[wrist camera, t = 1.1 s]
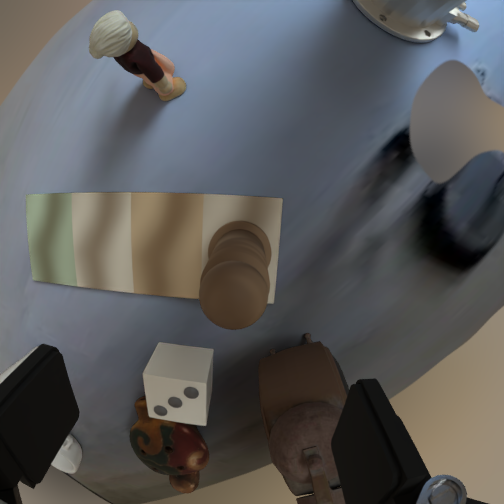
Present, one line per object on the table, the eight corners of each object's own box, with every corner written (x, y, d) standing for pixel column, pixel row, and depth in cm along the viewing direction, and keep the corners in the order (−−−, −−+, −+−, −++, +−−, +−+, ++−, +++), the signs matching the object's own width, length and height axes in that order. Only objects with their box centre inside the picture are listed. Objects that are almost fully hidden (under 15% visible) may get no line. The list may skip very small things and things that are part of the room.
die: (213, 348, 31) (206, 384, 25) (212, 390, 32) (205, 427, 26) (159, 341, 31) (142, 374, 25) (162, 383, 32) (148, 417, 26)
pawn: (273, 222, 27) (290, 260, 15) (268, 281, 28) (279, 356, 16) (210, 218, 27) (177, 254, 15) (208, 278, 28) (180, 349, 16)
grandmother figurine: (204, 80, 24) (171, 16, 12) (180, 114, 25) (128, 71, 13) (142, 49, 23) (84, -11, 11) (120, 80, 24) (48, 36, 12)
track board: (282, 198, 27) (282, 198, 26) (273, 302, 29) (273, 303, 29) (27, 194, 26) (25, 194, 26) (34, 278, 29) (33, 280, 28)
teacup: (79, 457, 37) (68, 477, 32) (45, 431, 36) (32, 450, 31) (98, 442, 36) (86, 465, 30) (59, 412, 34) (45, 433, 29)
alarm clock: (344, 400, 33) (391, 536, 13) (288, 417, 33) (306, 559, 14) (319, 302, 29) (397, 466, 10) (250, 324, 30) (249, 505, 10)
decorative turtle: (175, 460, 36) (161, 499, 28) (120, 387, 34) (93, 424, 26) (233, 455, 35) (226, 498, 27) (182, 375, 32) (161, 419, 24)
